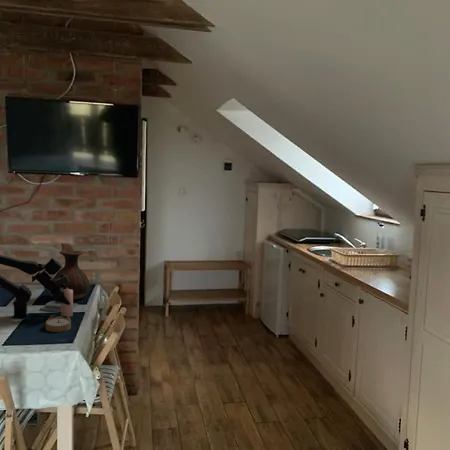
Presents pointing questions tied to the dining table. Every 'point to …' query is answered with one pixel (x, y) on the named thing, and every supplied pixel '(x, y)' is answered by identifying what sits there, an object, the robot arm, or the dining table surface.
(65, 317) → the alarm clock
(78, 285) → the jug
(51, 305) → the dish
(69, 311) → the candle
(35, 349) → the dining table surface
